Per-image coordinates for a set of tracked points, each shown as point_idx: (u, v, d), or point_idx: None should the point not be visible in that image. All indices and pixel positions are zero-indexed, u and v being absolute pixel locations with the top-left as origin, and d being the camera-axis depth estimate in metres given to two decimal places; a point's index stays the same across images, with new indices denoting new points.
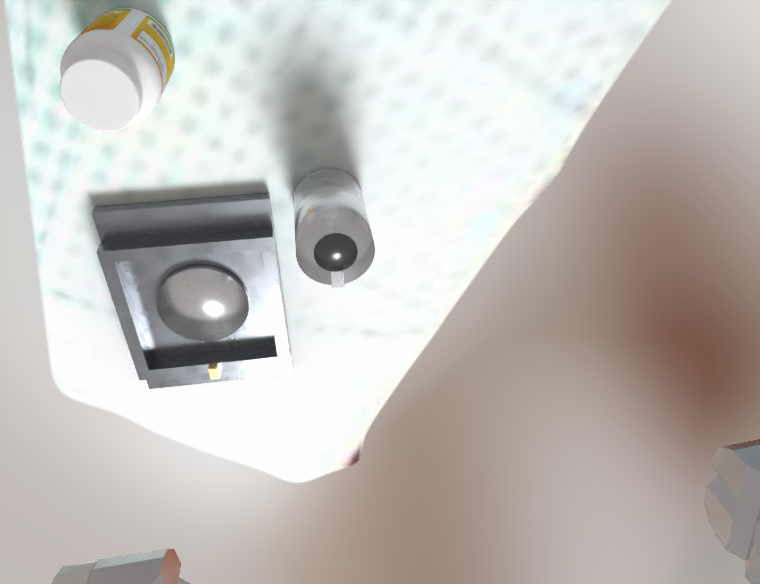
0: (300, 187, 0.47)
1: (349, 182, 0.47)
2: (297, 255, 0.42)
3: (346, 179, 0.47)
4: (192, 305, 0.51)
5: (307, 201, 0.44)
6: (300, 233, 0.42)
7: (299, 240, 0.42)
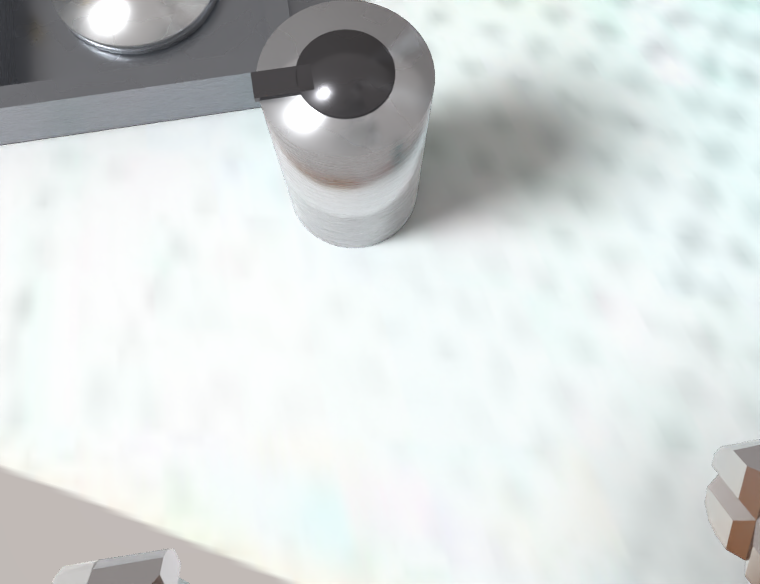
0: None
1: (412, 200, 0.24)
2: (333, 3, 0.19)
3: (413, 198, 0.25)
4: None
5: None
6: None
7: (370, 5, 0.19)
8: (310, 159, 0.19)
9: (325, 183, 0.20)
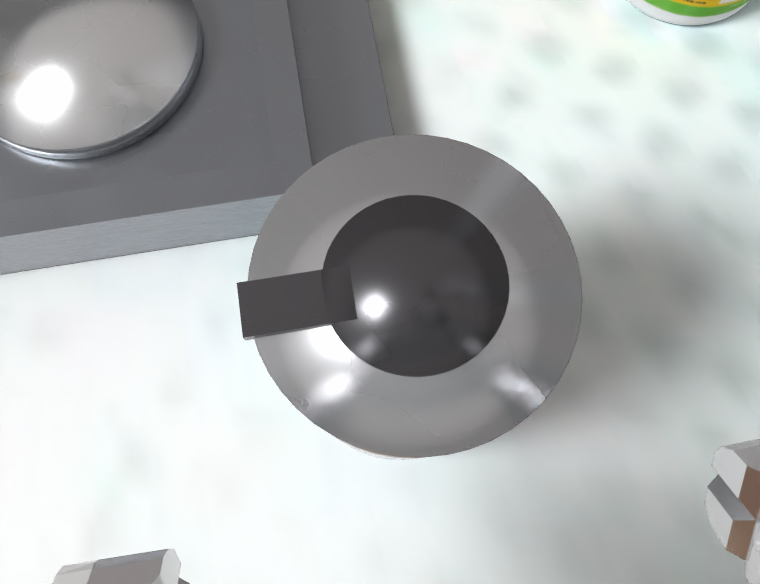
0: None
1: None
2: (387, 141, 0.11)
3: None
4: (79, 14, 0.19)
5: None
6: None
7: (456, 144, 0.11)
8: None
9: (371, 452, 0.11)
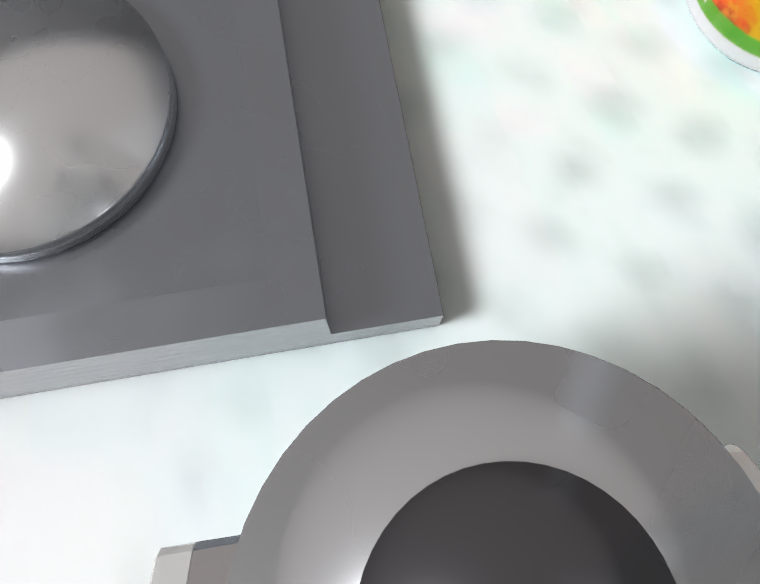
0: None
1: None
2: (459, 352, 0.06)
3: None
4: (15, 69, 0.14)
5: None
6: None
7: (574, 357, 0.06)
8: None
9: None
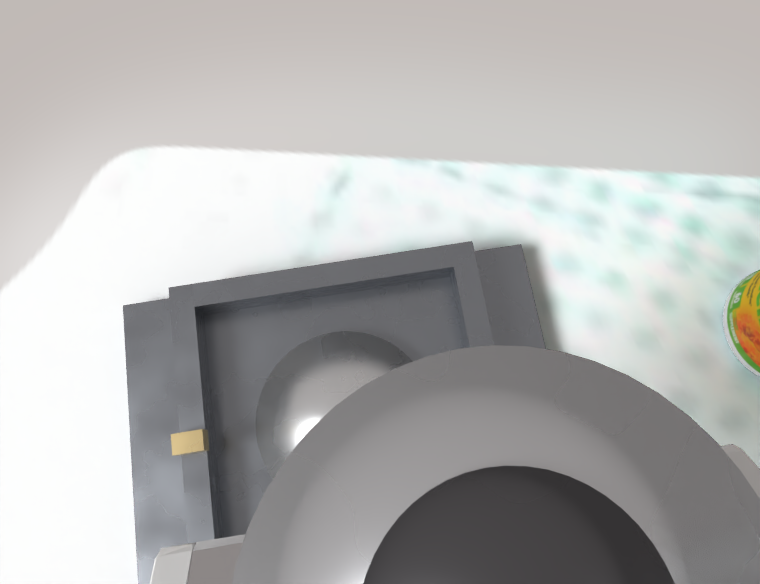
0: None
1: None
2: (461, 357, 0.06)
3: None
4: None
5: None
6: None
7: (576, 362, 0.06)
8: None
9: None
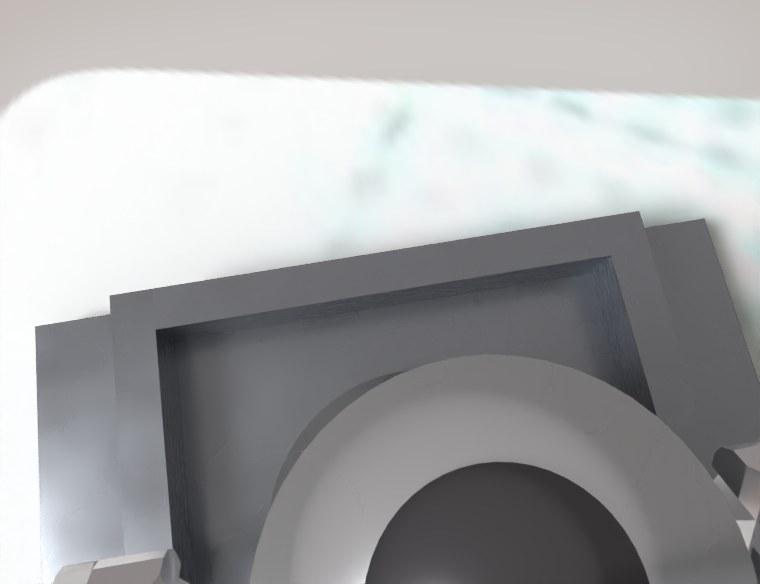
0: None
1: None
2: (456, 365, 0.07)
3: None
4: None
5: None
6: None
7: (558, 369, 0.07)
8: None
9: None
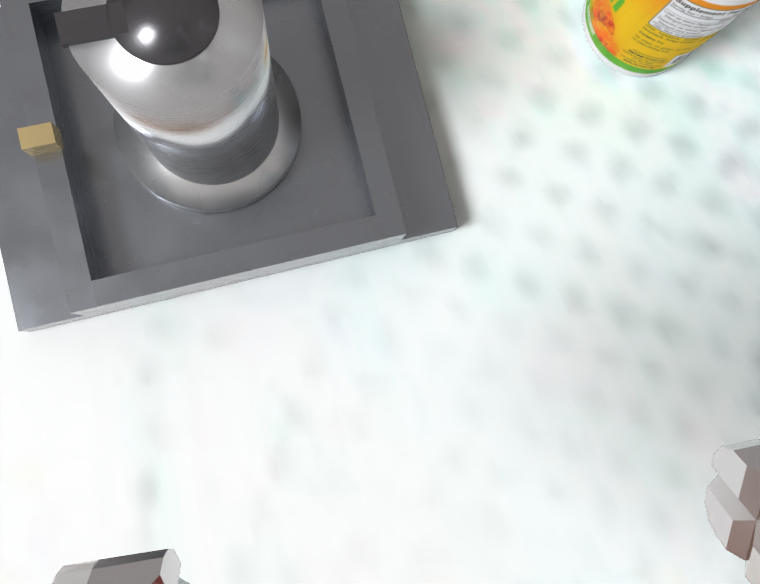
0: None
1: (270, 133, 0.23)
2: None
3: (272, 131, 0.24)
4: None
5: None
6: None
7: None
8: (135, 110, 0.17)
9: (160, 131, 0.19)
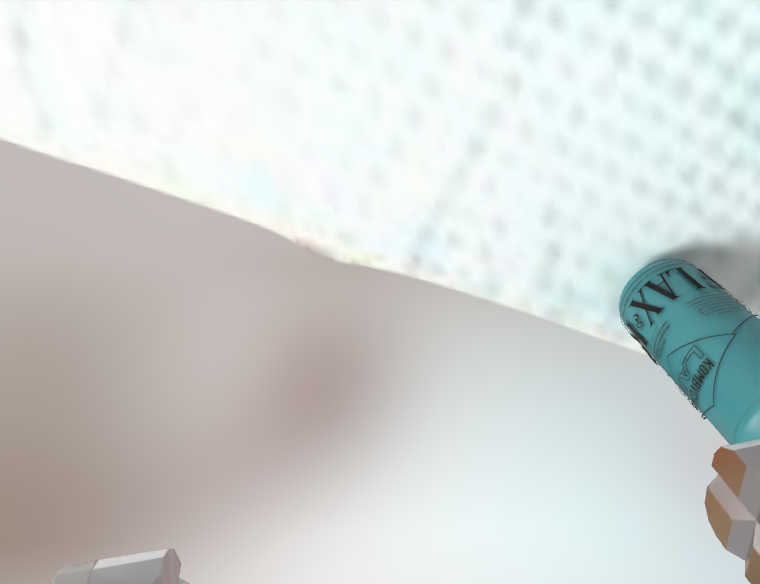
0: None
1: None
2: None
3: None
4: None
5: None
6: None
7: None
8: None
9: None
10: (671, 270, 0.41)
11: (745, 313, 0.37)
